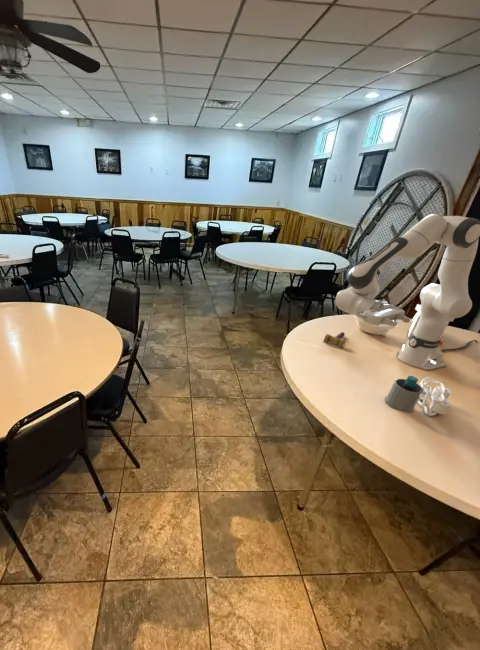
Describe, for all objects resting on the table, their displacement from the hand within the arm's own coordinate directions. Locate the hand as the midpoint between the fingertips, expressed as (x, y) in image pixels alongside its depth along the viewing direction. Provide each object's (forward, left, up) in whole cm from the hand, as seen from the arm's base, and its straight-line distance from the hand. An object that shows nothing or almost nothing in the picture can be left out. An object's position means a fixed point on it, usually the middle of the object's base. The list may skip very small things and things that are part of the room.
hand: (402, 322), depth 123 cm
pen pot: (-4, +11, -32) cm, 34 cm away
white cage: (-18, +12, -32) cm, 39 cm away
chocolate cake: (-45, -59, -32) cm, 80 cm away
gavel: (-14, -48, -32) cm, 59 cm away
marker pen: (-4, +11, -31) cm, 34 cm away
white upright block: (-77, -52, -32) cm, 98 cm away
